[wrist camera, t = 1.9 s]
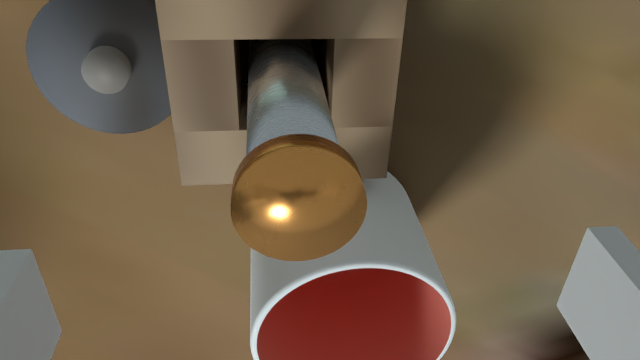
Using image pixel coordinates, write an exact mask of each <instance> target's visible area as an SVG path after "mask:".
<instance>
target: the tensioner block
mask: <svg viewBox="0 0 640 360" xmlns="http://www.w3.org/2000/svg"><path fill="white" fill-rule="evenodd" d="M406 7H407V0H51V1H50V2H48V3H47V4H46V5H45V6H44V7H43V8H42V9H41V10H40V11H39V12H38V14H37V15H36V17H35V18H34V20H33V22H32V24H31V26H30V29H29V32H28V37H27V46H26V51H27V60H28V65H29V69H30V71H31V74H32V77H33V79H34V81H35V83H36V85H37V86H38V88H39V89H40V91H41V92H42V94H43V95H44V96H45V98H46V99H47V100H48V101H49V102H50V103H51V104H52V105H53V106H54V107H55V108H56V109H57V110H58V111H60V112H61V113H62V114H64V115H65V116H66V117H68V118H70V119H71V120H73V121H74V122H76V123H79V124H81V125H83V126H85V127H88V128H91V129H93V130H97V131H101V132H107V133H117V134H125V133H134V132H139V131H143V130H146V129H149V128H151V127H153V126H155V125H157V124H159V123H160V122H162V121H163V120H165V119H166V118H167V117H168V116H169V115H170V114H171V115H172V122H173V129H174V136H175V142H176V149H177V156H178V163H179V170H180V177H181V184H182V186H184V185H212V184H233V178H234V175H235V172H236V170H237V168H238V166H239V164H240V163H241V162H242V160H243V159H244V158H245V157H246V145H247V107H248V86H242V85H241V69H240V52H239V40H242V39H321V60H320V77H321V80H322V84H323V88H324V92H325V95H326V99H327V103H328V106H329V110H330V114H331V118H332V121H333V125H334V129H335V132H336V136H337V140H338V144H339V145H340V146H341V147H342V148H343V149H345V150H346V151H347V152H348V153H349V154H350V155H351V157H352V158H353V159H354V161H355V163H356V165H357V167H358V169H359V172H360V175H361V178H362V179H378V178H387V170H388V161H389V153H390V144H391V135H392V127H393V118H394V110H395V101H396V92H397V84H398V75H399V67H400V58H401V50H402V41H403V32H404V24H405V15H406Z"/></svg>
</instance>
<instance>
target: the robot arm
mask: <svg viewBox="0 0 640 360" xmlns="http://www.w3.org/2000/svg"><path fill="white" fill-rule="evenodd" d="M557 307H558V309H559V310H560V312H561V313H562V315H563V317H564V318H565V320H566V322H567V323H568V325H569V326H570V328H571V330H572V331H573V333H574V334H575V336H576V338H577V339H578V341H579V343H580V344H581V346H582V347H583V349H584V351H585V352H586V354H587V355H588V357H589V359H590V360H640V252H639V250H638V249H637V248H636V247H635V246H634V245H633V244H632V243H631V241H630V240H629V239H628V238H627V237H626V236H625V235H624V234H623V233H622V231H621V230H620V229H619V228H618V227H617V226H610V227H588V228H587V230H586V233H585V235H584V238H583V240H582V243H581V245H580V248H579V250H578V253H577V255H576V258H575V260H574V263H573V265H572V267H571V270H570V272H569V275H568V277H567V280H566V282H565V285H564V287H563V290H562V292H561V295H560V297H559V300H558V302H557ZM61 333H62V330H61V327H60V325H59V322H58V319H57V317H56V314H55V311H54V309H53V306H52V303H51V300H50V298H49V295H48V292H47V290H46V287H45V284H44V282H43V279H42V276H41V274H40V271H39V268H38V265H37V263H36V260H35V257H34V255H33V252H32V249H22V250H0V360H51V358H52V356H53V353H54V350H55V348H56V345H57V343H58V340H59V338H60V335H61Z"/></svg>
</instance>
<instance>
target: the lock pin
mask: <svg viewBox="0 0 640 360" xmlns="http://www.w3.org/2000/svg"><path fill="white" fill-rule="evenodd" d="M366 211H367V196H366V191H365V188H364V185H363V182H362V178H361V175H360V172H359V169H358V167H357V165H356V163H355V161H354V159H353V158H352V157H351V155H350V154H349V153H348V152H347V151H346V150H345V149H343V148H342V147H341V146H340V145H339V144H338V140H337V136H336V132H335V129H334V125H333V121H332V118H331V114H330V110H329V106H328V103H327V99H326V95H325V92H324V88H323V84H322V80H321V77H320V73H319V69H318V66H317V62H316V58H315V55H314V51H313V47H312V43H311V40H310V39H250V41H249V69H248V107H247V145H246V157H245V158H244V159H243V160H242V162H241V163H240V164H239V166H238V168H237V170H236V172H235V175H234V178H233V184H232V195H231V217H232V222H233V225H234V227H235V229H236V231H237V233H238V234H239V236H240V237H241V238H242V240H243V241H244V242H245V243H246V244H247V245H249V246H250V247H251V248H252V249H254V250H255V251H257V252H259V253H261V254H263V255H265V256H268V257H271V258H274V259H278V260H284V261H307V260H312V259H317V258H320V257H323V256H326V255H328V254H331V253H333V252H335V251H336V250H338V249H340V248H341V247H343V246H344V245H345V244H347V243H348V242H349V241H350V240H351V239H352V238H353V237H354V236H355V235H356V233H357V232H358V230H359V229H360V227H361V225H362V223H363V221H364V219H365V216H366Z"/></svg>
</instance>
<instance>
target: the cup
mask: <svg viewBox="0 0 640 360" xmlns="http://www.w3.org/2000/svg"><path fill="white" fill-rule="evenodd" d="M362 182H363V185H364V188H365V191H366V196H367V211H366V216H365V219H364V221H363V223H362V225H361V227H360V229H359V230H358V232H357V233H356V235H355V236H354V237H353V238H352V239H351V240H350V241H349V242H348V243H347V244H345V245H344V246H343V247H341V248H340V249H338V250H336V251H335V252H333V253H331V254H328V255H326V256H323V257H320V258H317V259H312V260H307V261H284V260H278V259H274V258H271V257H268V256H265V255H263V254H261V253H259V252H257V251H255V250H254V249H252V248H251V297H250V347H251V352H252V355H253V359H254V360H440V359H441V357H442V356H443V355H444V353H445V352H446V351H447V349H448V347H449V345H450V343H451V341H452V339H453V336H454V333H455V328H456V310H455V307H454V303H453V301H452V298H451V296H450V294H449V291H448V289H447V287H446V284H445V282H444V280H443V277H442V275H441V272H440V270H439V268H438V265H437V263H436V261H435V258H434V256H433V254H432V251H431V249H430V246H429V244H428V242H427V239H426V237H425V235H424V232H423V230H422V228H421V225H420V223H419V221H418V218H417V216H416V213H415V211H414V209H413V206H412V204H411V202H410V199H409V197H408V195H407V193H406V191H405V189H404V188H403V186H402V185H401V184H400V182H399V181H398V180H397V179H396V178H395V177H394V176H393V175H392V174H390V173H389V172H388V171H387V178H378V179H362Z"/></svg>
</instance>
